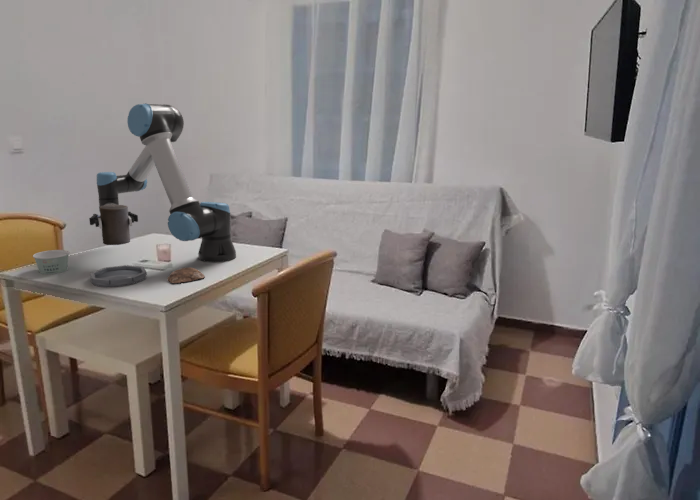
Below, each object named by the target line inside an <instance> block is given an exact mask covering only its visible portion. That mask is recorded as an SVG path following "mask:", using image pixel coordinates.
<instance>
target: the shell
mask: <svg viewBox="0 0 700 500" xmlns="http://www.w3.org/2000/svg"><path fill="white" fill-rule="evenodd" d="M204 278H206V276H205V275H204V273H203V272H202V271H200V270H198V269H197V268H195V267H189V266H188V267H182V268H178V269H176V270H174V271H171V273H170V274H169V276H167V278H166V280H167V282H168V283H169V284H171V285H175V284H179V285H180V284H181V283H183V284H188V283H193V282H198V281H202V280H204Z"/></svg>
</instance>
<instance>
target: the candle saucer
mask: <svg viewBox="0 0 700 500" xmlns="http://www.w3.org/2000/svg"><path fill="white" fill-rule="evenodd" d="M147 273H148V272H147V270H146V269H145V266H139V265H131V264H130V265H129V264H124V265H116V266H114V265H113V266H107V267H103V268H100V269H98V270H95V271H92V272H90V282H91V284H92V285H94V286H96V287H101V288H102V287H103V288H116V287H124V286H125V287H126V286H130V285H134V284H138V283H140V282H142V281H144V280H146V279H147V276H148V275H147Z"/></svg>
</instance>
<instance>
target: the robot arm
mask: <svg viewBox="0 0 700 500" xmlns="http://www.w3.org/2000/svg"><path fill="white" fill-rule="evenodd" d="M184 123H185V122H184V117H183V115H182V113H181V112H180V111H179V109H178V108H176V107H175V106H173V105H170V104H156V103H155V104H154V103H153V104H150V103H147V102H146V103H139V104H135V105H133V106H132V107H131V108H130V110H129V111H128V116H127V127H128V131H130V133H131V134H132V135H134V136H135V137H139V139H140V142H141V144H142V145H144V148H143V149H142V150H141V152H140V153H139V155H138V157H137V158H136V160H135V161H134V163H133V164H132V166H131V168H130V169H129V170H128V172H127V173H126V174H121V175H117V174H116V172H114V171H101V172H98V173H96V186H97V193H98V194H97V195H98V205H99V206H98V209H99V210H98V211H99V212H100V207H101V206H106V205H113V204H114V205H120V203H119V202H120V201H119V194H125V193H132V192H139V191H143V190H145V189H146V188H147V187H148V186H147V184H148V179H147V178H148V177H149V175H150V174H151V173H152V171H153V170H154V168H155V167H156V171H157V173H158V175H159V178H160V180H161V181H160V182H161V183H162V186H163V188H164V191H165V193H166V196H167V199H168V201H169V204H170V208H169V210H168V213H169V215H168V217H167V221H168V222H167V227H168V230H169V232H170V234H171V235H172V236H173V237H174V238H175V239H177V240H179V241H181V242H188V241H195V240H197V239H201V242H200V246H199V249H198V253H197V255H198V260H200V261H203V262H206V263H207V262H209V263H219V262H229V261H232V260H234V259H236V258H237V251H236V248H235V245H234V243H233V240H232V233H231V230H232V229H231V210H230V209H231V208H230V205H229V204H228V203H225V202H217V201H216V202H215V201H201V202H200V201H199V200H198V199H196V198H195V197H194V196H193V194H192V192H191V189H190V186H189V184H188V181H187V179H186V177H185V174H184V172H183V171H184V170H183V169H182V167H181V164H180V161H179V158H178V156H177V154H176V151H175V148H174V146H173V144H172V143H175V142H177V140H178V139H179V138H180V136H181V134H182V133H183V131H184V125H185V124H184ZM138 215H139V214H136V213H134V212H131V211H128V218H129V227H132V226H133V224H134V223H138V222H139V217H138ZM89 225H90V226H93V225H95V228H97V227H99V229H102V222H101V217H100V215H99V214H98V213H93V214H92V216H91V217H89Z"/></svg>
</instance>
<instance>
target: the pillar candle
mask: <svg viewBox="0 0 700 500" xmlns="http://www.w3.org/2000/svg"><path fill="white" fill-rule="evenodd" d="M128 207H129V206H128V205H124V204H119V205H114V204H113V205H106V206H101V207H100V211H99V213H100V214H99V216H100V217H101V222H102V228H101V237H102V244H103V245H106V246H120V245H126V244H129V243H130V242H131V234H130V232H131V231H130V230H131V229H130V225H129V218H128V212H129V209H128Z"/></svg>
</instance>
